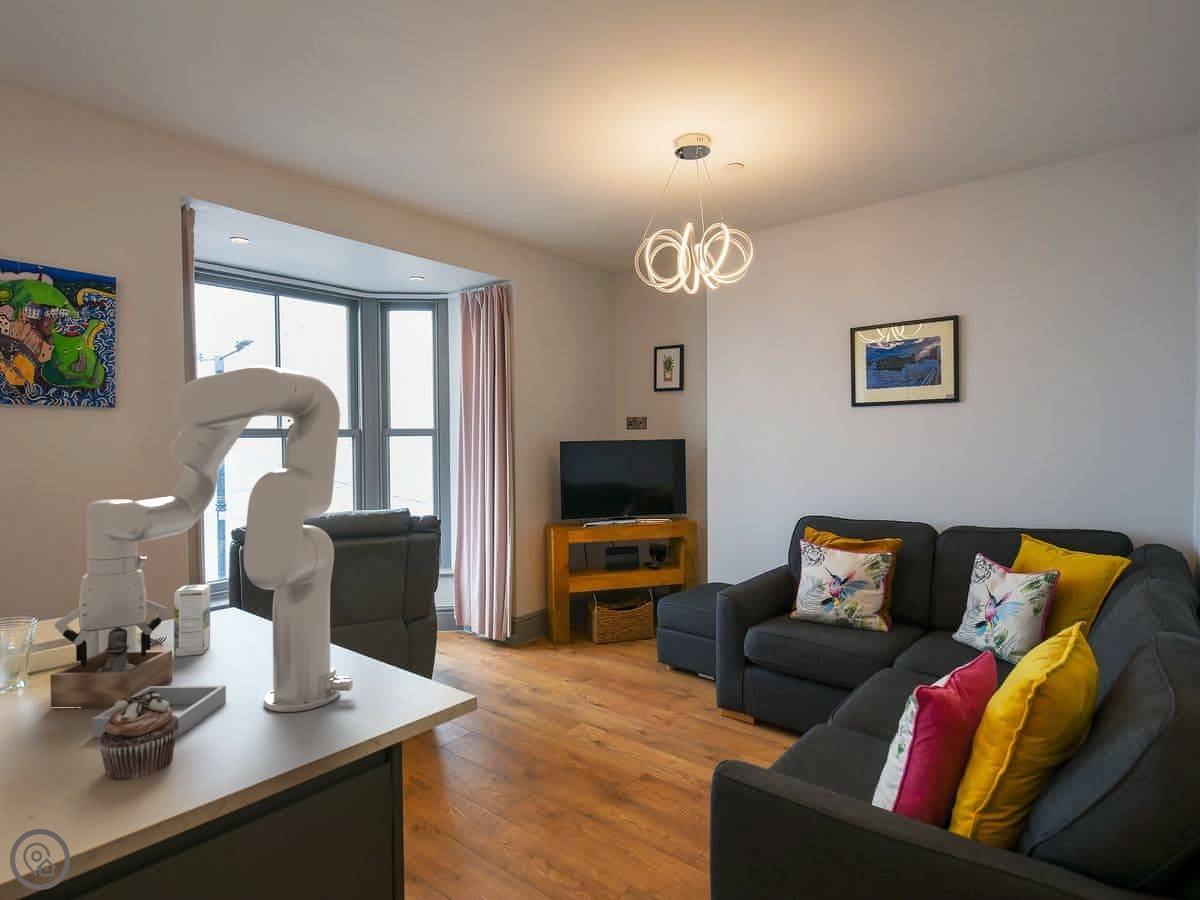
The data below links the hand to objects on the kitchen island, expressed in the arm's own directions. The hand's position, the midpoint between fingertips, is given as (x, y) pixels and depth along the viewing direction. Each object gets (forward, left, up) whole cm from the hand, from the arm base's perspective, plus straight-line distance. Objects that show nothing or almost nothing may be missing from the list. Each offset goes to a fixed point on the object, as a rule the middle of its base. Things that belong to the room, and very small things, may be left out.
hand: (114, 658), depth 122 cm
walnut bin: (0, 0, -7) cm, 7 cm away
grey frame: (-16, +11, -7) cm, 21 cm away
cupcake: (-23, +27, -7) cm, 36 cm away
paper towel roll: (+7, -10, -7) cm, 14 cm away
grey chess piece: (0, 0, -6) cm, 6 cm away
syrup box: (0, -24, -7) cm, 25 cm away
